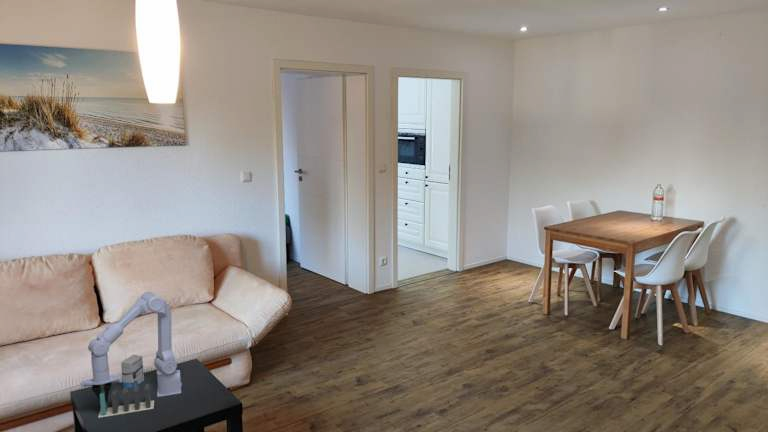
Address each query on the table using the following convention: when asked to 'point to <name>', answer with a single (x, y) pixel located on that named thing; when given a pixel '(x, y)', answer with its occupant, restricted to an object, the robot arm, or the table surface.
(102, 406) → the tile teal
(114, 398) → the tile
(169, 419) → the table surface
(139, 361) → the ink box
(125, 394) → the tile
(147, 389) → the tile
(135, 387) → the tile
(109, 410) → the mat
